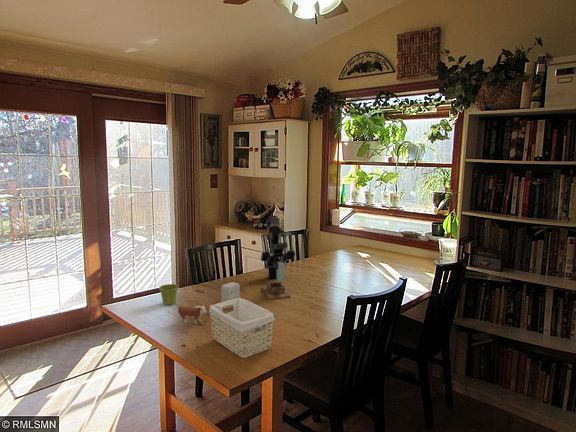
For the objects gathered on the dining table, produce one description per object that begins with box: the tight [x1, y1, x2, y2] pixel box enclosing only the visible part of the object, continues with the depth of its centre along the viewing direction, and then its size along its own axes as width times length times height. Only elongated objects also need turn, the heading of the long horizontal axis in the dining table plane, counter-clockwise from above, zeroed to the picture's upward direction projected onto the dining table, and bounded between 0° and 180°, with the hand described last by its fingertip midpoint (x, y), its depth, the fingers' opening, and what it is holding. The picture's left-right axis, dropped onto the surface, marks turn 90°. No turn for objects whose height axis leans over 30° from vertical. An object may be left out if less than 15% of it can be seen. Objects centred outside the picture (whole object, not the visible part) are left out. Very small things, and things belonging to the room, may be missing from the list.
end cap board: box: [261, 281, 291, 300], centre depth 221 cm, size 12×18×4 cm, turn 14°
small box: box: [220, 281, 241, 309], centre depth 203 cm, size 8×6×10 cm
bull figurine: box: [178, 305, 207, 324], centre depth 180 cm, size 4×13×8 cm, turn 80°
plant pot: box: [158, 283, 179, 306], centre depth 203 cm, size 9×9×9 cm
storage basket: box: [208, 297, 275, 359], centre depth 159 cm, size 24×16×15 cm
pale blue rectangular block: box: [276, 261, 286, 283], centre depth 221 cm, size 3×5×10 cm, turn 16°
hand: (280, 268), depth 220 cm, fingers closed on pale blue rectangular block, 3 cm apart
